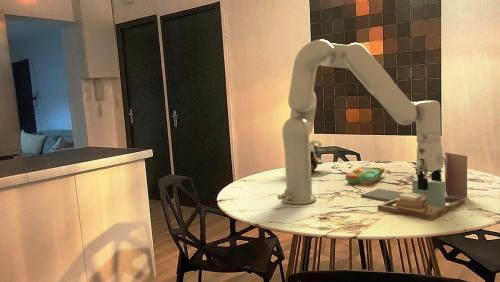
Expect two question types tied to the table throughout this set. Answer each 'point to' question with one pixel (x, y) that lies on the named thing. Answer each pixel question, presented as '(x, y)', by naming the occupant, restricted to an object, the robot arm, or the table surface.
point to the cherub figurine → (316, 160)
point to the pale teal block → (431, 192)
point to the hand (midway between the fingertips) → (429, 186)
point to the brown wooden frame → (432, 216)
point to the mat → (382, 194)
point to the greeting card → (455, 174)
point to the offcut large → (424, 210)
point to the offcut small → (412, 197)
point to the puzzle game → (364, 175)
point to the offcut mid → (412, 204)
